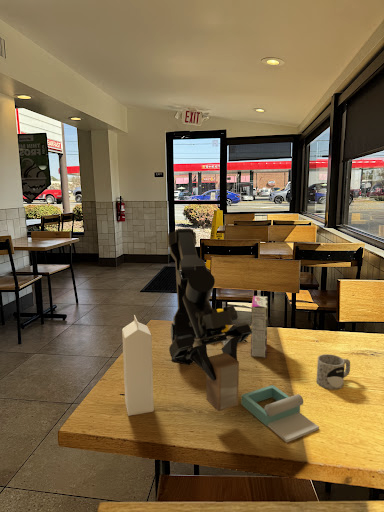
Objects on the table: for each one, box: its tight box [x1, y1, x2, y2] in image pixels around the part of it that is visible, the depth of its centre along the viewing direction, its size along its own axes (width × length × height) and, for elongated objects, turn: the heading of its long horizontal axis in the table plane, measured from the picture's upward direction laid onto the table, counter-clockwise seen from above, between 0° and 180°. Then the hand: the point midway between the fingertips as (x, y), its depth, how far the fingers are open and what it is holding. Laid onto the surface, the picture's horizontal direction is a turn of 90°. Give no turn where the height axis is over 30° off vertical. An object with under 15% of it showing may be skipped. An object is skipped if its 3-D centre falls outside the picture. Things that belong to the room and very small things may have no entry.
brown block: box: [205, 352, 240, 412], centre depth 79 cm, size 5×5×10 cm
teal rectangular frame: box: [240, 384, 320, 443], centre depth 83 cm, size 16×10×5 cm, turn 28°
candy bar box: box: [250, 295, 269, 359], centre depth 116 cm, size 11×5×16 cm, turn 168°
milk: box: [121, 314, 155, 417], centre depth 86 cm, size 6×6×22 cm
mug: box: [316, 353, 351, 391], centre depth 98 cm, size 10×7×7 cm, turn 114°
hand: (225, 377), depth 78 cm, fingers closed on brown block, 5 cm apart
